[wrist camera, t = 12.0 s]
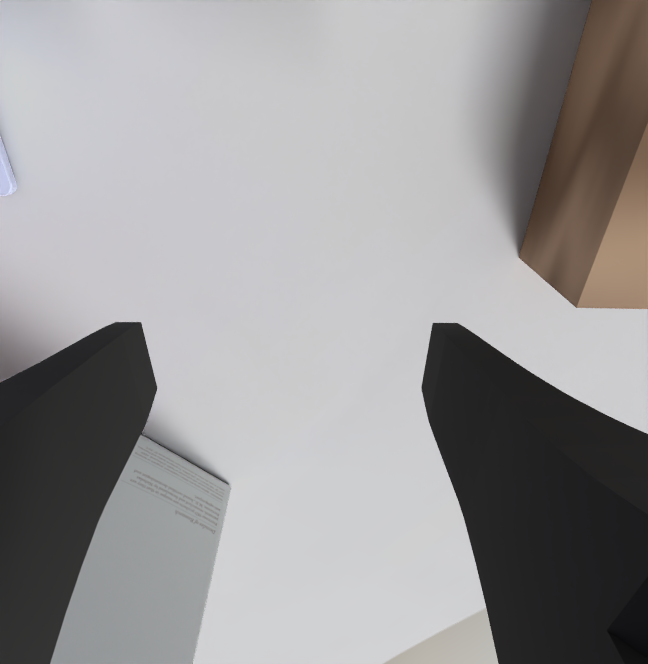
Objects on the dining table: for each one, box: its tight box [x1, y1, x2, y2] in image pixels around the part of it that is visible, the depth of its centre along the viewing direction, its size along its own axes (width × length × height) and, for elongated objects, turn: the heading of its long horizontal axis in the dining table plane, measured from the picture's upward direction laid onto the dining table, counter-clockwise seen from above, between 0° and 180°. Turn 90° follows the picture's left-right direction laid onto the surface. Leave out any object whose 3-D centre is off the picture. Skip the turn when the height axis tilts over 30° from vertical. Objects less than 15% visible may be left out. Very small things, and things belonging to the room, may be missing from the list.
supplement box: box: [50, 435, 231, 664], centre depth 21 cm, size 7×7×13 cm
